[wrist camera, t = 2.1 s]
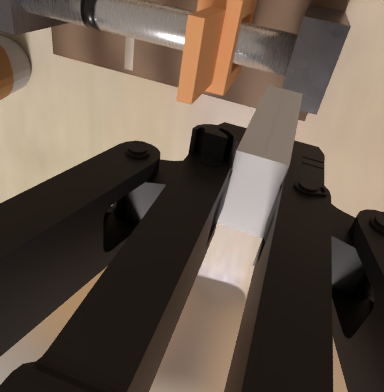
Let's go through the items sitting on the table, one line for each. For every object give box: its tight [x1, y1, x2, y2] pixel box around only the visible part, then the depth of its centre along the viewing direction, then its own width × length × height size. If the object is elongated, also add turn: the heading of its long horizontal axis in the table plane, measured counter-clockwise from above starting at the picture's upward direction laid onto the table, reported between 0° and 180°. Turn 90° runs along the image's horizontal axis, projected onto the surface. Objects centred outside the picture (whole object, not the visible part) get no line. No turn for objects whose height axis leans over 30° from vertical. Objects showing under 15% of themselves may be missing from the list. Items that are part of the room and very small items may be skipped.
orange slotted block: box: [177, 0, 257, 104], centre depth 25 cm, size 3×6×11 cm, turn 172°
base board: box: [51, 0, 349, 121], centre depth 34 cm, size 29×14×2 cm, turn 82°
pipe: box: [0, 0, 351, 114], centre depth 30 cm, size 29×6×9 cm, turn 82°
